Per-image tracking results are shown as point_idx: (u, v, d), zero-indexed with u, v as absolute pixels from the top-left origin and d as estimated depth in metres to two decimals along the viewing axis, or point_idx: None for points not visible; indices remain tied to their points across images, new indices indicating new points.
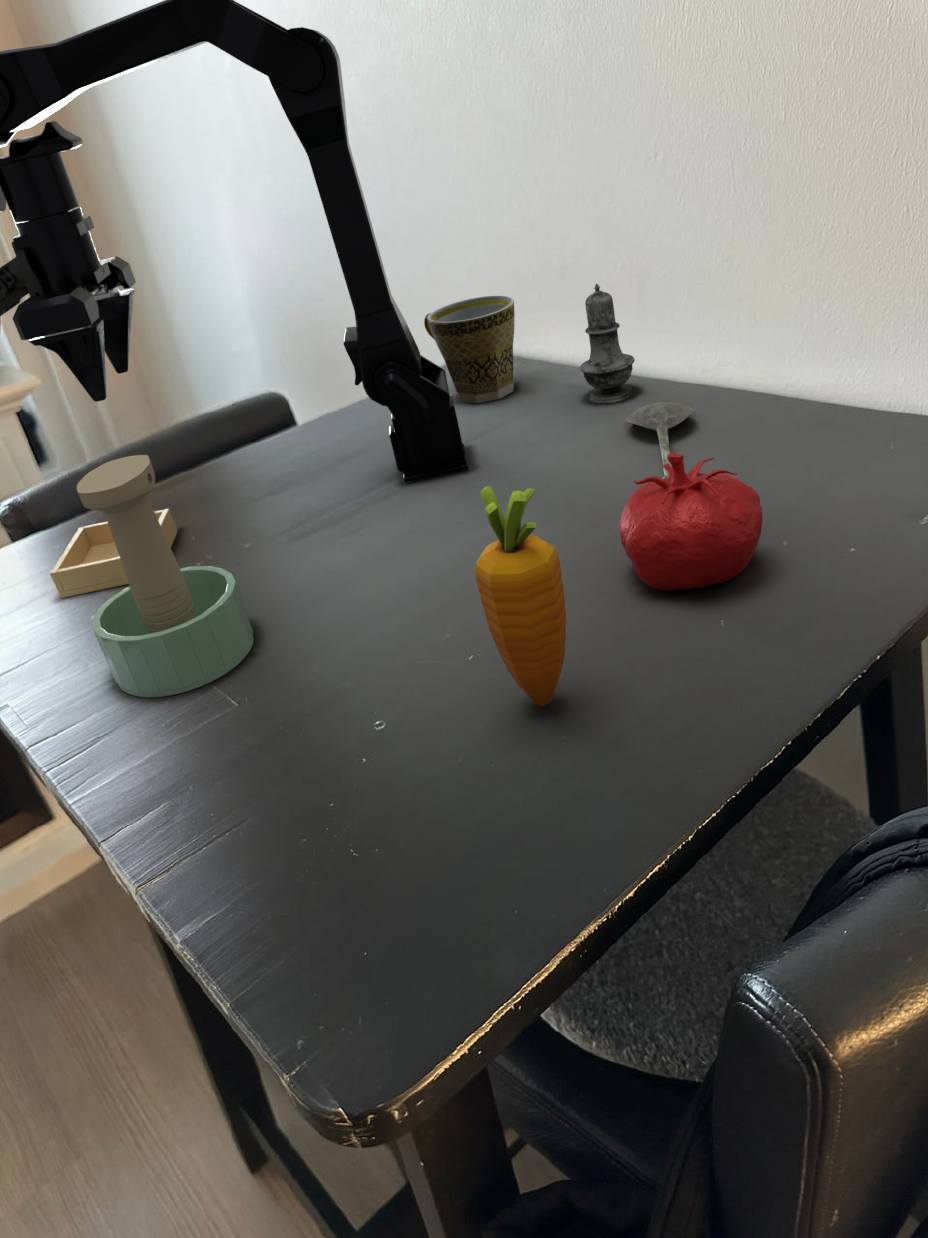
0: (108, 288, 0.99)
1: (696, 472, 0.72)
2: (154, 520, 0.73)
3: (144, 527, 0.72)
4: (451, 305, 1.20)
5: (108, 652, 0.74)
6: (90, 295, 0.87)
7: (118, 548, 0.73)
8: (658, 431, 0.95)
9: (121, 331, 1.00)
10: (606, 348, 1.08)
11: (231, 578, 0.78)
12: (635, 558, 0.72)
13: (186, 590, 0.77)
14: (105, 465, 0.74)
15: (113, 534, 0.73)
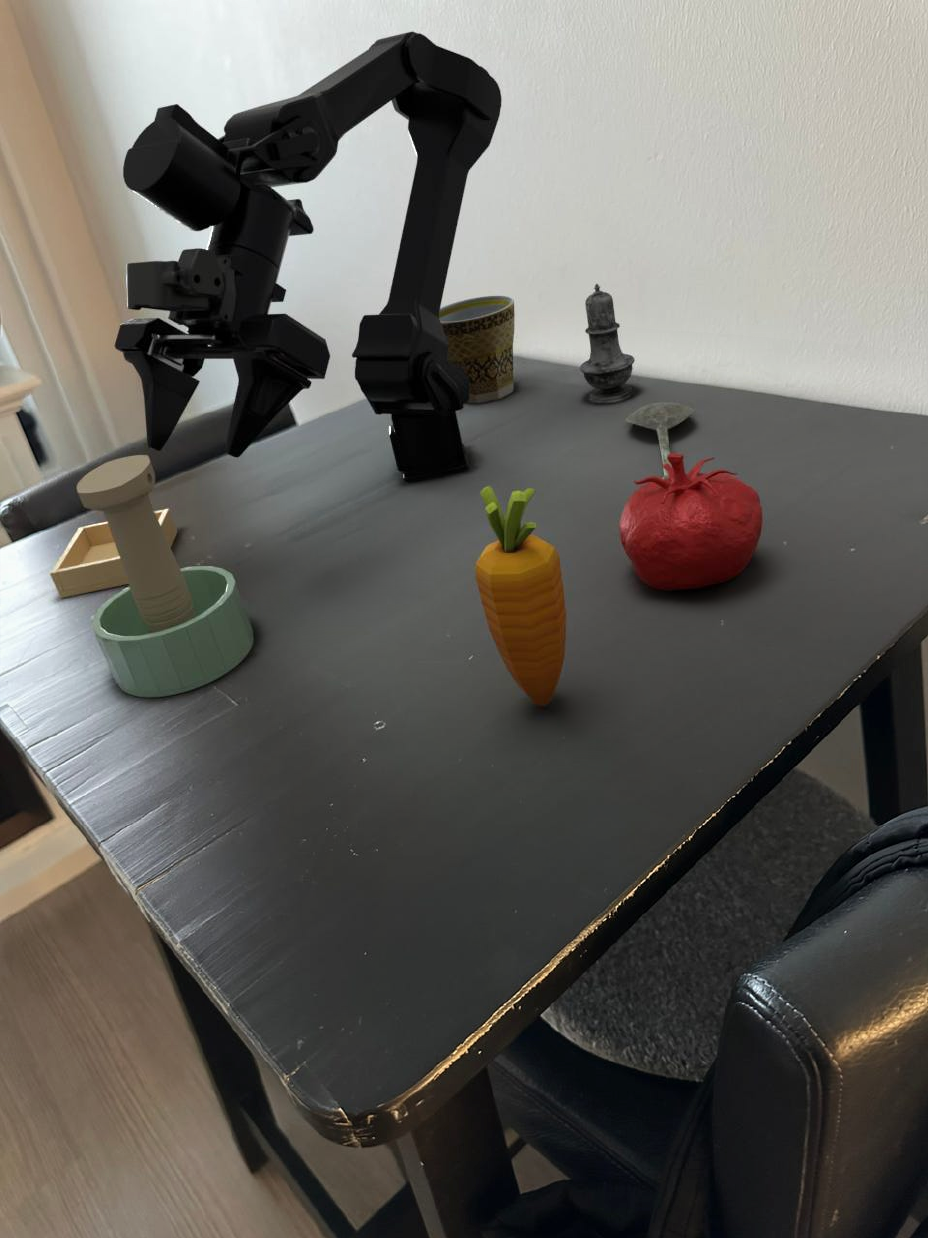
0: None
1: (696, 472, 0.72)
2: (154, 520, 0.73)
3: (144, 527, 0.72)
4: (451, 305, 1.20)
5: (108, 652, 0.74)
6: None
7: (118, 548, 0.73)
8: (658, 431, 0.95)
9: (177, 408, 0.83)
10: (606, 348, 1.08)
11: (231, 578, 0.78)
12: (635, 558, 0.72)
13: (186, 590, 0.77)
14: (105, 465, 0.74)
15: (113, 534, 0.73)
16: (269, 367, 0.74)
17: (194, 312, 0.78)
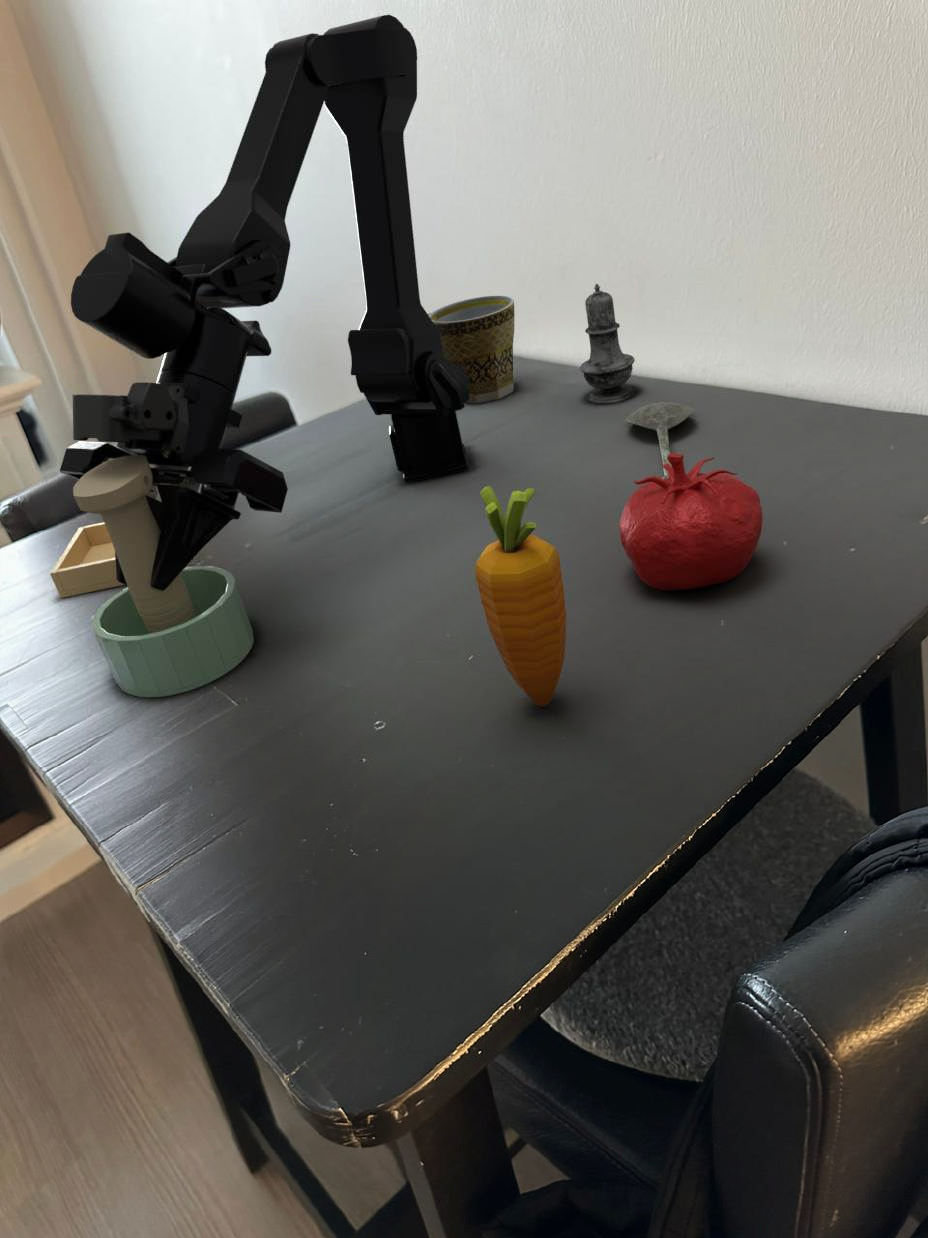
0: None
1: (696, 472, 0.72)
2: (151, 522, 0.73)
3: (141, 529, 0.72)
4: (451, 305, 1.20)
5: (108, 652, 0.74)
6: None
7: (115, 549, 0.73)
8: (658, 431, 0.95)
9: None
10: (606, 348, 1.08)
11: (231, 578, 0.78)
12: (635, 558, 0.72)
13: (184, 590, 0.76)
14: (103, 465, 0.73)
15: (110, 535, 0.73)
16: (196, 501, 0.72)
17: (144, 441, 0.74)
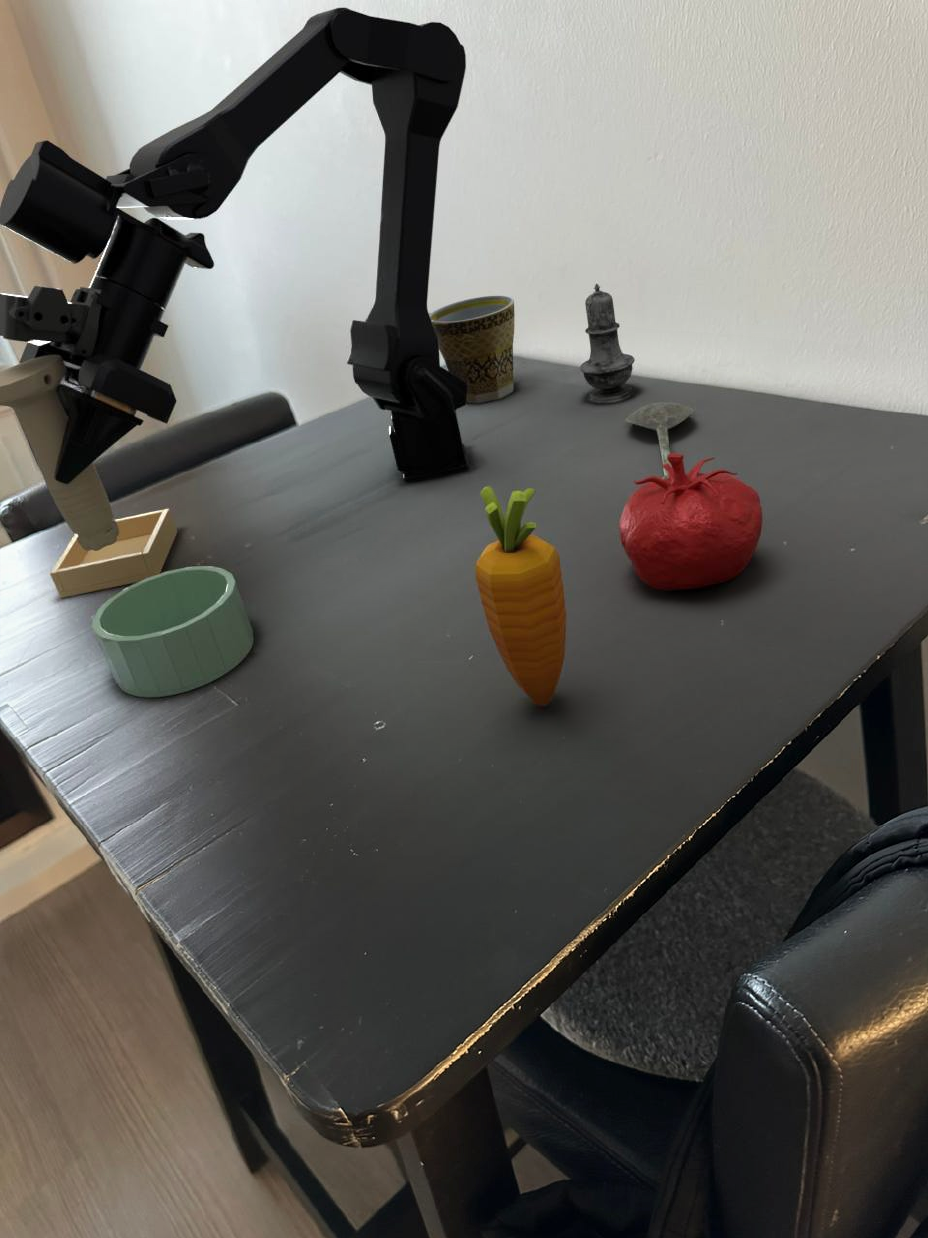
0: None
1: (696, 472, 0.72)
2: (57, 418, 0.78)
3: (44, 424, 0.78)
4: (451, 305, 1.20)
5: (108, 652, 0.74)
6: None
7: None
8: (658, 431, 0.95)
9: None
10: (606, 348, 1.08)
11: (231, 578, 0.78)
12: (635, 558, 0.72)
13: (95, 487, 0.82)
14: (28, 361, 0.79)
15: (23, 427, 0.79)
16: None
17: (66, 342, 0.79)
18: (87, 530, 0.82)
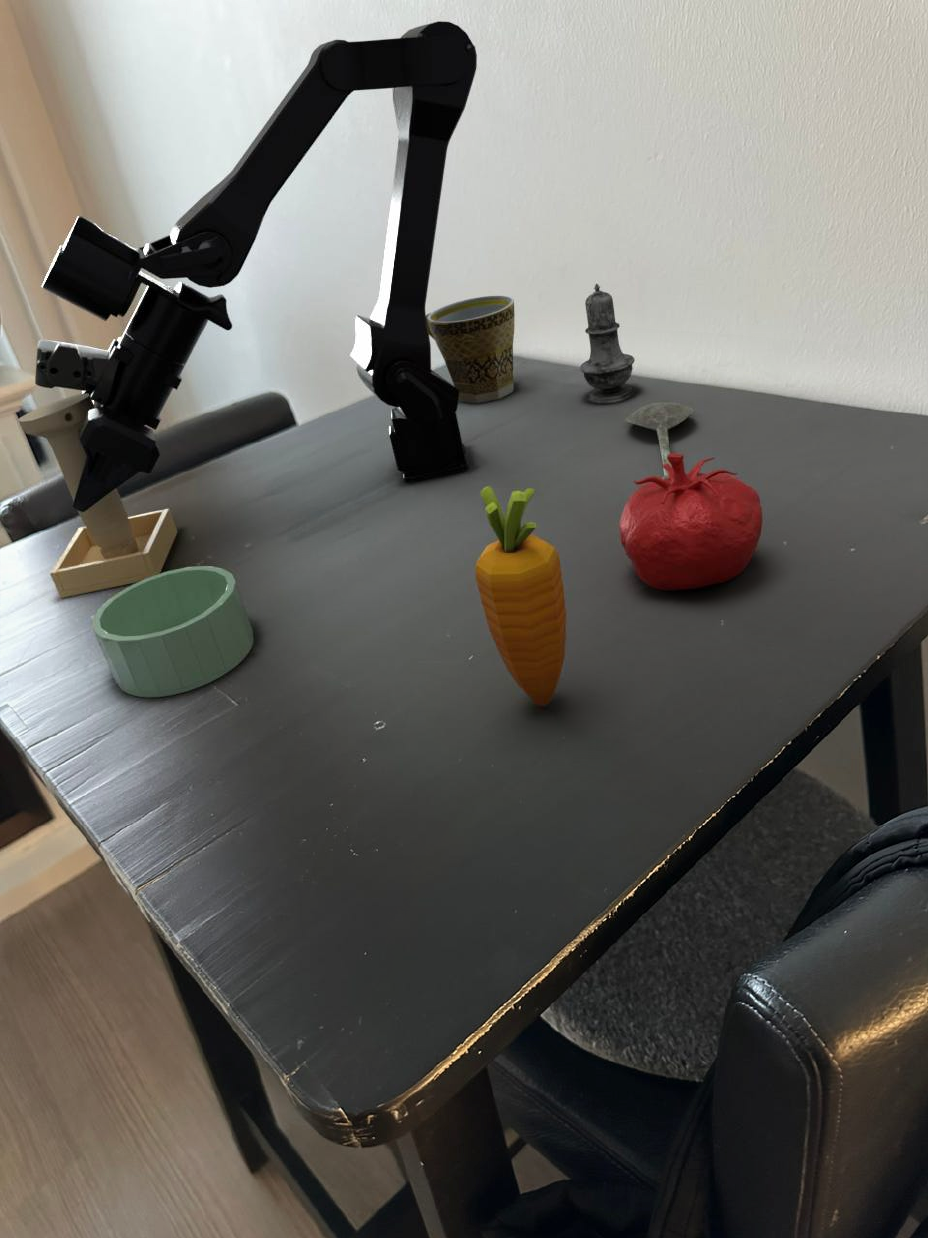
0: None
1: (696, 472, 0.72)
2: (79, 449, 0.91)
3: (67, 454, 0.91)
4: (451, 305, 1.20)
5: (108, 652, 0.74)
6: (158, 446, 0.88)
7: None
8: (658, 431, 0.95)
9: None
10: (606, 348, 1.08)
11: (231, 578, 0.78)
12: (635, 558, 0.72)
13: (112, 509, 0.94)
14: (69, 397, 0.93)
15: None
16: None
17: None
18: (104, 545, 0.95)
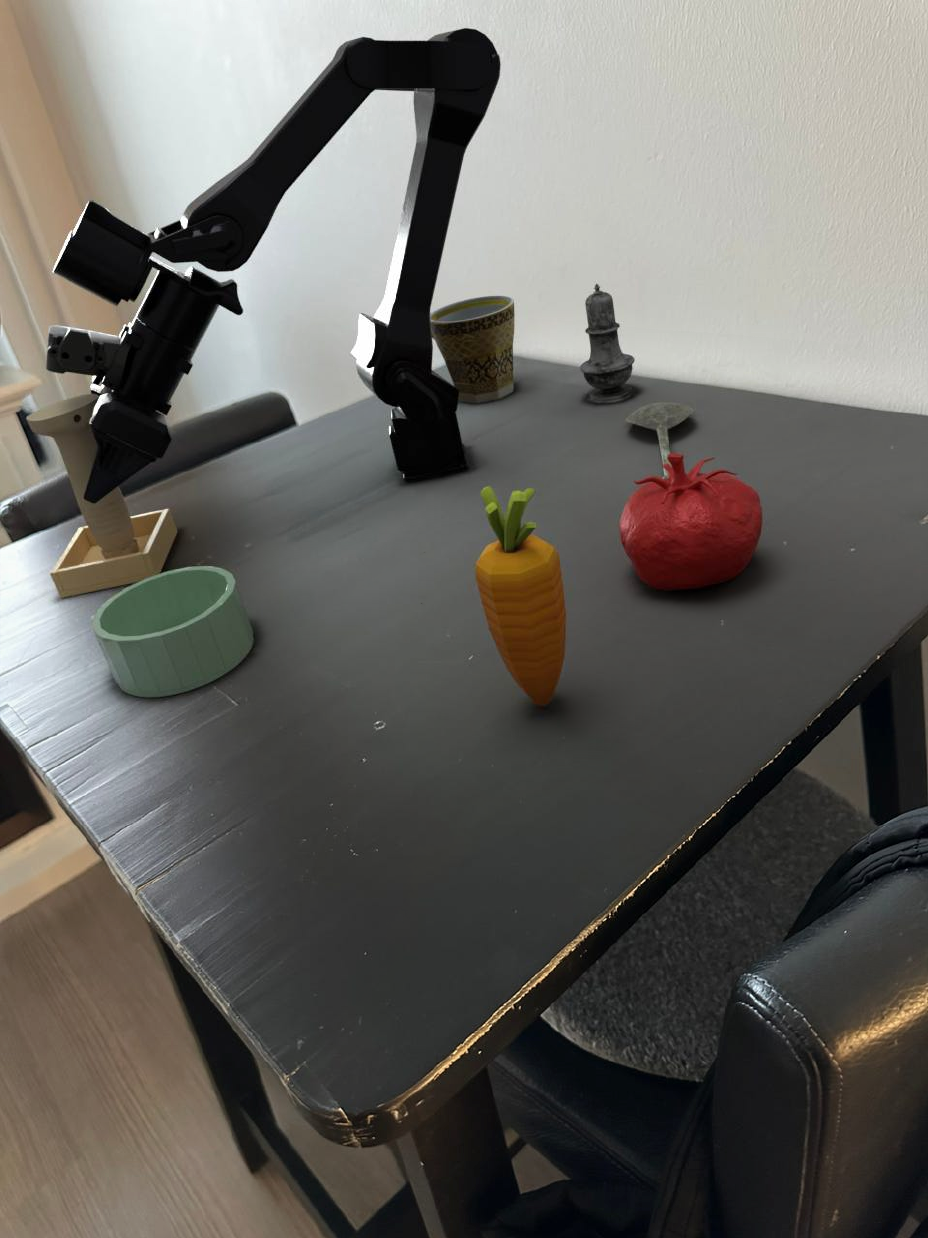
0: None
1: (696, 472, 0.72)
2: (86, 451, 0.91)
3: (73, 455, 0.91)
4: (451, 305, 1.20)
5: (108, 652, 0.74)
6: (169, 431, 0.88)
7: None
8: (658, 431, 0.95)
9: None
10: (606, 348, 1.08)
11: (231, 578, 0.78)
12: (635, 558, 0.72)
13: (115, 511, 0.94)
14: (77, 397, 0.92)
15: None
16: None
17: None
18: (105, 546, 0.95)
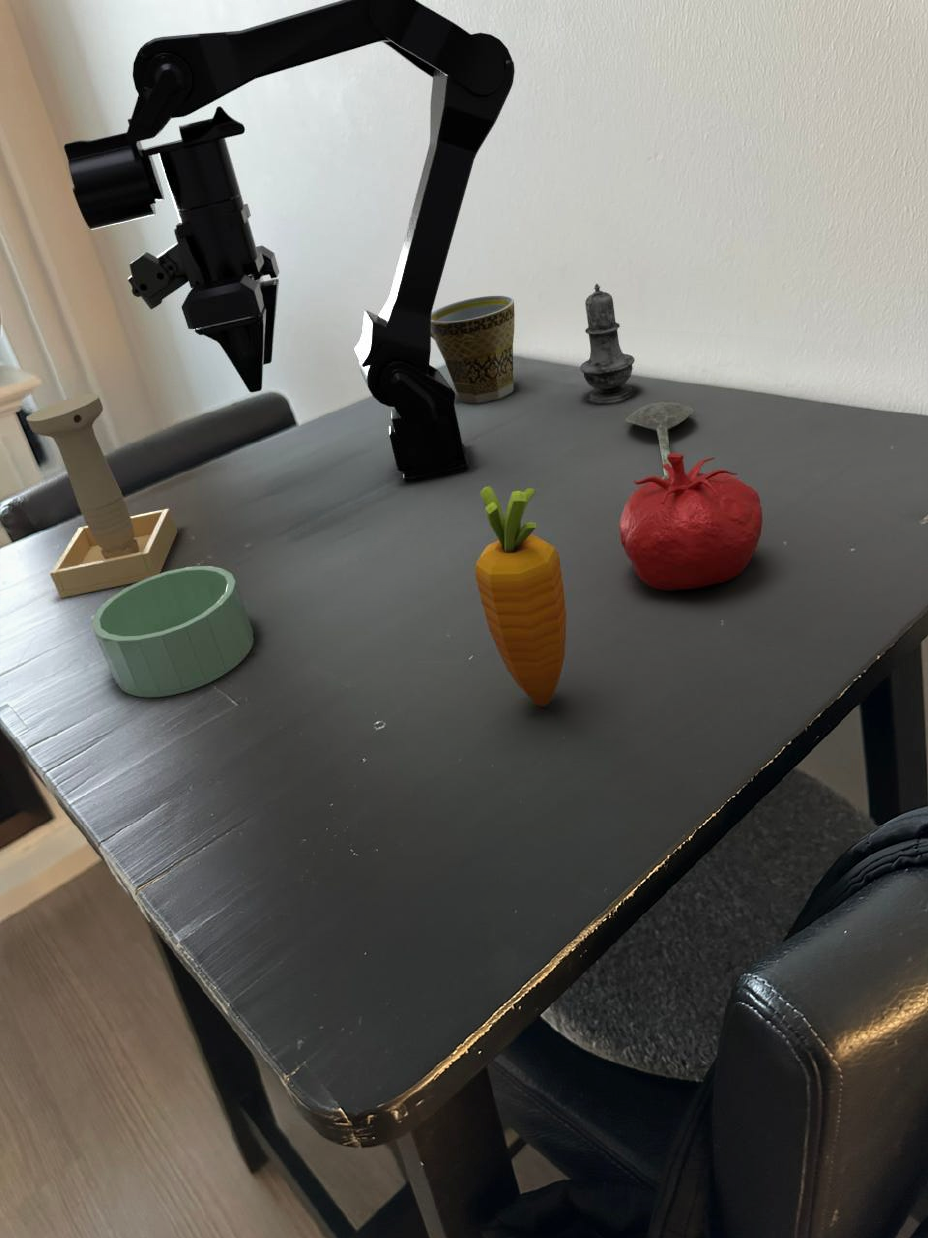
0: (255, 278, 0.98)
1: (696, 472, 0.72)
2: (86, 451, 0.91)
3: (73, 455, 0.91)
4: (451, 305, 1.20)
5: (108, 652, 0.74)
6: (256, 284, 0.86)
7: None
8: (658, 431, 0.95)
9: (267, 321, 0.98)
10: (606, 348, 1.08)
11: (231, 578, 0.78)
12: (635, 558, 0.72)
13: (115, 511, 0.94)
14: (77, 397, 0.92)
15: None
16: None
17: None
18: (105, 546, 0.95)
